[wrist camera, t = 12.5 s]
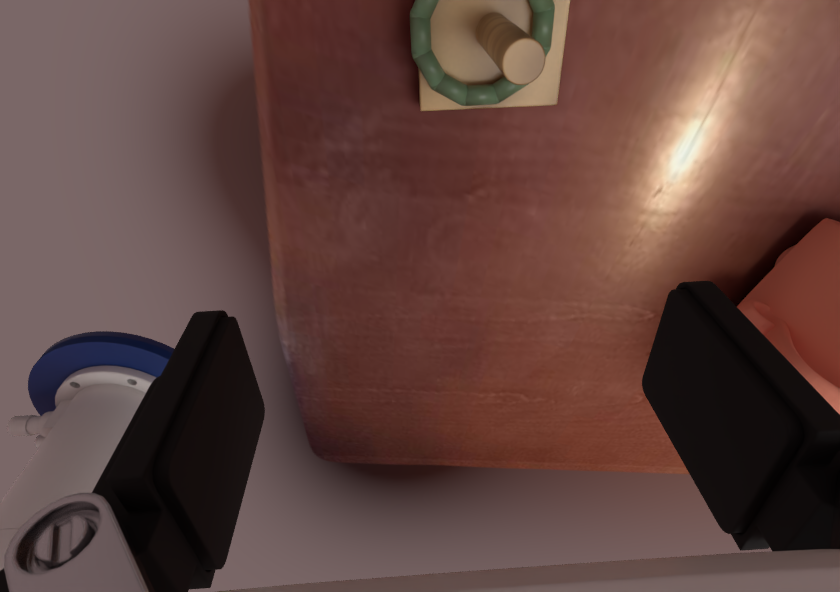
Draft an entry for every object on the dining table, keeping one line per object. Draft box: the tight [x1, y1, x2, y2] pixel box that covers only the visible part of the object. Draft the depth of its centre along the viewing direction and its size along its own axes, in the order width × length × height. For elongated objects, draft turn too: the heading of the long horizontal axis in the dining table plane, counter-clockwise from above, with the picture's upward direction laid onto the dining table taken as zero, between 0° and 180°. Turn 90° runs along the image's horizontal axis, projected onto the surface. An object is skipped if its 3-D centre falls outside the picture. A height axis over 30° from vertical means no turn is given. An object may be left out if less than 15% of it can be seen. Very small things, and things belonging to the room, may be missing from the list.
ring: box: [410, 0, 555, 106], centre depth 29 cm, size 8×8×1 cm
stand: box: [418, 0, 570, 111], centre depth 27 cm, size 9×9×10 cm
